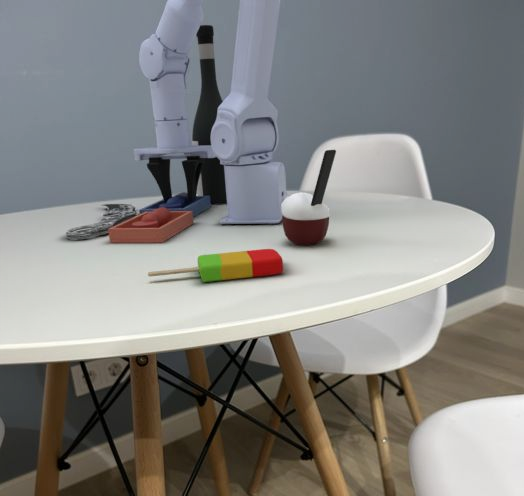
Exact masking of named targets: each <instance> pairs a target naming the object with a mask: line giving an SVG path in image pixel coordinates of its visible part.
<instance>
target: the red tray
mask: <svg viewBox="0 0 524 496" xmlns="http://www.w3.org/2000/svg"><path fill="white" fill-rule="evenodd" d="M147 213H150V212H144V213H142V214H140V213H139V214H138V215H137V214H136V215H137V216H135V217H133V218H131V219H129V220H127V221H124V222H122V223H120V224H118V225H116V226H114V227H112V228H109V229H108V232H109V233H108V238H109V243H111V244H112V243H113V244H120V243H122V244H123V243H128V244H129V243H131V244H132V243H133V244H138V243H139V244H142V243H146V244H147V243H148V244H150V243H151V244H156V243H157V244H160V243H161V244H163V243H164V242H166V241H168V240H170V239H171V238H173V237H174V236H176V235H178V234H179V233H180V232H182V231H184V230H185V229H187V228H188V227H190V226H192V225H193V224H194V217H193V212H192V211H170V213H171V219H170V221H169V222H168V223H166V224H164V225H163V226H161V227H159V228H132V223H134V222H138V221H141V220H142V217H143V216H144V215H145V214H147Z"/></svg>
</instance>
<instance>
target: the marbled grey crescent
mask: <svg viewBox="0 0 524 496" xmlns="http://www.w3.org/2000/svg"><path fill="white" fill-rule="evenodd" d="M101 206H102V207H105V208H107V210H106V212H104V213H103V214H102V216H103V218H101V219H100V221H98V222H96V223H93V224H87V225H86V224H85V225H80V226H76V227H72V228H70V229H68V230H66V232H65V236H66V239H68V240H69V241H83V240H87V239H91V238H94V237H98V236H101V235H102V236H103V235H107V234H109V232H108V229H109V228H112V227H114V226H116V225H118V224H120V223H122V222H124V221H127V220H129V219H131V218H133V217H135V216H137V210H136V207H135V206H133V205H132V204H128V203H106V204H101Z"/></svg>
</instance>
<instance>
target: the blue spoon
mask: <svg viewBox="0 0 524 496" xmlns="http://www.w3.org/2000/svg"><path fill="white" fill-rule="evenodd" d="M172 196H173V195H172ZM190 204H191V202H189V201H188V195H187V191H182V192H180V193H177V194H175V195H174V196H173V197H171V198H169V199H168V201H167V203H166V204H161V205H159V208H161V207H164V208H167V209H180V208H182V209H183V208H185V207H187V206H188V205H190Z"/></svg>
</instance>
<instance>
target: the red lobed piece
mask: <svg viewBox="0 0 524 496" xmlns="http://www.w3.org/2000/svg"><path fill="white" fill-rule="evenodd" d="M170 219H171V213H170V211H169V210H168V209H167V208H164V207H161V208H158V209H156V210H154V211H152V212H150V213H147V214H145V215H144V216H143V217H142V220H141V221H138V222H134V223H132V228H159V227H161V226H163V225H164V224H166V223H168V222H169V221H170Z"/></svg>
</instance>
